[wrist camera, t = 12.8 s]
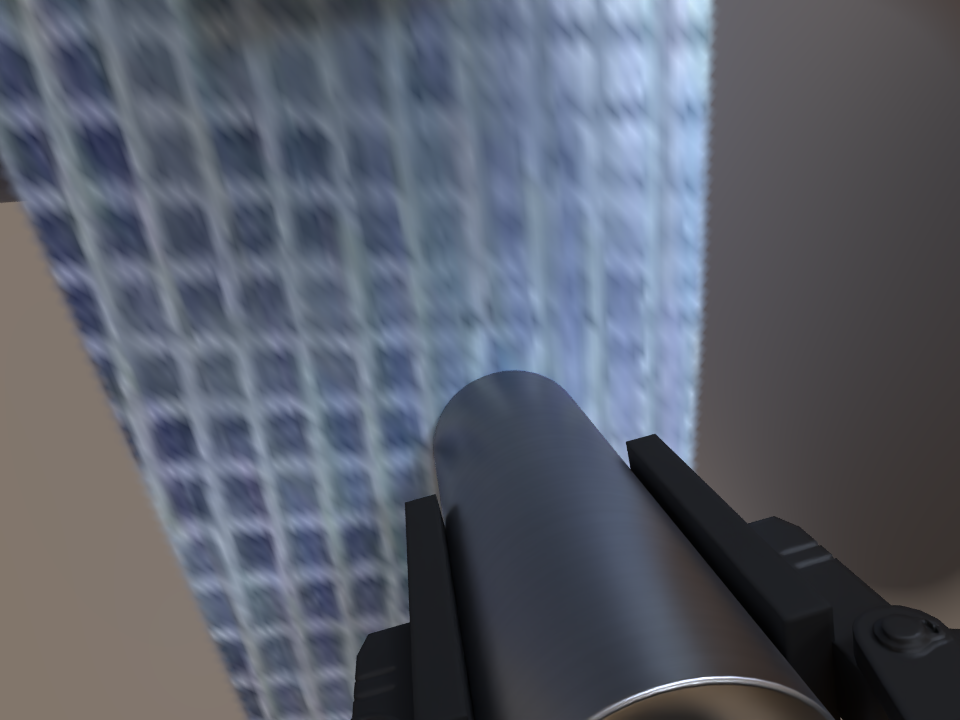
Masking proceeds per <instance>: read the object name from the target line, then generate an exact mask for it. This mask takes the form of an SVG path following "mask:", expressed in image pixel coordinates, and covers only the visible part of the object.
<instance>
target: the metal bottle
mask: <svg viewBox="0 0 960 720" xmlns="http://www.w3.org/2000/svg"><path fill="white" fill-rule="evenodd" d="M433 451H434V460H435V467H436V473H437V480H438V486H439V492H440V499H441V505H442V512H443V518H444V525H445V529H446V536H447V542H448V549H449V555H450V561H451V568H452V574H453V581H454V587H455V594H456V600H457V606H458V613H459V619H460V626H461V632H462V638H463V645H464V651H465V658H466V664H467V671H468V677H469V683H470V690H471V696H472V703H473V709H474V715H475V720H835V719H834V718H833V717H832V715H831V714H830V713H829V712H828V710H827V709H826V708H825V707H824V706H823V704H822V703H821V702H820V701H819V699H818V698H817V697H816V696H815V695H814V693H813V692H812V691H811V690H810V688H809V687H808V686H807V685H806V684H805V682H804V681H803V680H802V679H801V677H800V676H799V675H798V674H797V673H796V671H795V670H794V669H793V668H792V666H791V665H790V664H789V663H788V662H787V660H786V659H785V658H784V657H783V655H782V654H781V653H780V652H779V651H778V649H777V648H776V647H775V646H774V644H773V643H772V642H771V641H770V639H769V638H768V637H767V636H766V635H765V633H764V632H763V631H762V630H761V628H760V627H759V626H758V625H757V624H756V622H755V621H754V620H753V619H752V617H751V616H750V615H749V614H748V613H747V611H746V610H745V609H744V608H743V606H742V605H741V604H740V603H739V602H738V600H737V599H736V598H735V597H734V595H733V594H732V593H731V592H730V591H729V589H728V588H727V587H726V586H725V584H724V583H723V582H722V581H721V580H720V578H719V577H718V576H717V575H716V573H715V572H714V571H713V570H712V569H711V567H710V566H709V565H708V564H707V562H706V561H705V560H704V559H703V558H702V556H701V555H700V554H699V553H698V551H697V550H696V549H695V548H694V547H693V545H692V544H691V543H690V542H689V540H688V539H687V538H686V537H685V536H684V534H683V533H682V532H681V531H680V529H679V528H678V527H677V526H676V525H675V523H674V522H673V521H672V520H671V518H670V517H669V516H668V515H667V514H666V512H665V511H664V510H663V509H662V507H661V506H660V505H659V504H658V503H657V501H656V500H655V499H654V498H653V496H652V495H651V494H650V493H649V492H648V490H647V489H646V488H645V487H644V485H643V484H642V483H641V482H640V481H639V479H638V478H637V477H636V476H635V474H634V473H633V472H632V471H631V470H630V468H629V467H628V466H627V465H626V463H625V462H624V461H623V460H622V458H621V457H620V456H619V455H618V454H617V452H616V451H615V450H614V449H613V447H612V446H611V445H610V444H609V443H608V441H607V440H606V439H605V438H604V436H603V435H602V434H601V433H600V432H599V430H598V429H597V428H596V427H595V425H594V424H593V423H592V422H591V421H590V419H589V418H588V417H587V416H586V414H585V413H584V412H583V411H582V410H581V408H580V407H579V406H578V405H577V403H576V402H575V401H574V400H573V399H572V397H571V396H570V395H569V394H568V393H567V392H566V391H565V390H564V389H563V388H562V387H561V386H560V385H558V384H557V383H555V382H554V381H552V380H550V379H548V378H546V377H544V376H542V375H539V374H536V373H532V372H526V371H502V372H497V373H493V374H490V375H487V376H484V377H482V378H479V379H477V380H475V381H473V382H472V383H470V384H469V385H467V386H466V387H464V388H463V389H462V390H461V391H459V392H458V393H457V394H456V395H455V396H454V397H453V398H452V400H451V401H450V402H449V403H448V405H447V406H446V407H445V409H444V411H443V412H442V414H441V416H440V418H439V421H438V423H437V426H436V430H435V434H434V442H433Z"/></svg>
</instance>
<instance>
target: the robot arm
mask: <svg viewBox="0 0 960 720" xmlns="http://www.w3.org/2000/svg"><path fill="white" fill-rule="evenodd" d="M626 445H627V451H628V457H629V462H630V468H631V471H632V472H633V473H634V474H635V476H636V477H637V478H638V479H639V481H640V482H641V483H642V484H643V485H644V487H645V488H646V489H647V490H648V492H649V493H650V494H651V495H652V496H653V498H654V499H655V500H656V501H657V503H658V504H659V505H660V506H661V507H662V509H663V510H664V511H665V512H666V514H667V515H668V516H669V517H670V518H671V520H672V521H673V522H674V523H675V525H676V526H677V527H678V528H679V529H680V531H681V532H682V533H683V534H684V536H685V537H686V538H687V539H688V540H689V542H690V543H691V544H692V545H693V547H694V548H695V549H696V550H697V551H698V553H699V554H700V555H701V556H702V558H703V559H704V560H705V561H706V562H707V564H708V565H709V566H710V567H711V569H712V570H713V571H714V572H715V573H716V575H717V576H718V577H719V578H720V580H721V581H722V582H723V583H724V584H725V586H726V587H727V588H728V589H729V591H730V592H731V593H732V594H733V595H734V597H735V598H736V599H737V600H738V602H739V603H740V604H741V605H742V606H743V608H744V609H745V610H746V611H747V613H748V614H749V615H750V616H751V617H752V619H753V620H754V621H755V622H756V624H757V625H758V626H759V627H760V628H761V630H762V631H763V632H764V633H765V635H766V636H767V637H768V638H769V639H770V641H771V642H772V643H773V644H774V646H775V647H776V648H777V649H778V651H779V652H780V653H781V654H782V655H783V657H784V658H785V659H786V660H787V662H788V663H789V664H790V665H791V666H792V668H793V669H794V670H795V671H796V673H797V674H798V675H799V676H800V677H801V679H802V680H803V681H804V682H805V684H806V685H807V686H808V687H809V688H810V690H811V691H812V692H813V693H814V695H815V696H816V697H817V698H818V699H819V701H820V702H821V703H822V704H823V706H824V707H825V708H826V709H827V710H828V712H829V713H830V714H831V715H832V717H833V718H834V719H835V720H841V719H840V717H841V718H842V720H960V629H949V628H948V627H946V626H945V625H944V624H943V623H942V622H941V621H940V620H938V619H937V618H935V617H933V616H931V615H929V614H927V613H925V612H922V611H920V610H917V609H912V608H909V607H904V606H900V605H899V606H898V605H890V604H889V603H888V602H886V601H885V600H884V599H883V598H882V597H881V596H880V595H878V594H877V593H876V592H875V591H874V590H873V589H871V588H870V587H869V586H868V585H867V584H866V583H864V582H863V581H862V580H861V579H860V578H859V577H857V576H856V575H855V574H854V573H853V572H851V571H850V570H849V569H848V568H847V567H846V566H844V565H843V564H842V563H841V562H840V561H839V560H838V559H836V558H835V559H834V558H833V556H832V554H831V553H829V552H828V551H827V550H826V549H825V548H824V547H822V546H821V545H820V546H819V545H818V543H817V541H815V540H814V539H813V538H812V537H811V536H810V535H808V534H807V533H806V532H805V531H804V530H803V529H801V528H800V527H799V526H796V525H794V524H792V523H789V522H787V521H785V520H782V519H780V518H777V517H775V516H773V517H769V518H766V519H762V520H759V521H755V522H752V523H748V524H747V523H746V522H745V521H744V520H743V519H742V518H741V517H740V516H739V515H738V514H737V513H736V512H735V511H734V510H733V509H732V508H731V507H730V506H729V505H728V504H727V503H726V502H725V501H724V500H723V499H722V498H721V497H720V496H719V495H717V493H716V492H715V491H713V490H712V489H711V488H710V487H709V486H708V485H707V484H706V483H705V482H704V481H703V480H702V479H701V478H700V477H699V476H698V475H697V474H696V473H695V472H694V471H693V470H692V469H691V468H690V467H689V466H688V465H687V464H686V463H685V462H684V461H683V460H682V459H681V458H680V457H679V456H678V455H677V454H675V453H674V452H673V451H672V450H671V449H670V448H669V447H668V446H667V445H666V444H665V443H664V442H663V441H662V440H661V439H660V438H659V437H658V436H657V435H656V434H653V435H649V436H646V437H642V438H638V439H635V440H631V441H627V442H626ZM405 516H406V540H407V564H408V587H409V611H410V622H409V623H406V624H402V625H399V626H395V627H392V628H388V629H385V630H382V631H378V632H375V633H371V634H368V636H367V638H366V640H365V642H364V644H363V645H362V647H361V649H360V651H359V653H358V655H357V659H356V673H355V680H356V683H355V687H354V702H353V714H352V719H351V720H475V715H474V709H473V703H472V696H471V690H470V683H469V677H468V671H467V664H466V658H465V651H464V645H463V638H462V632H461V626H460V619H459V613H458V606H457V600H456V594H455V587H454V581H453V574H452V568H451V561H450V555H449V549H448V542H447V536H446V529H445V525H444V522H443V518H442V515H441V511H440V508H439V504H438V501H437V497H436V494H434V495H431V496H427V497H423V498H420V499H416V500H413V501H409V502H405Z"/></svg>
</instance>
